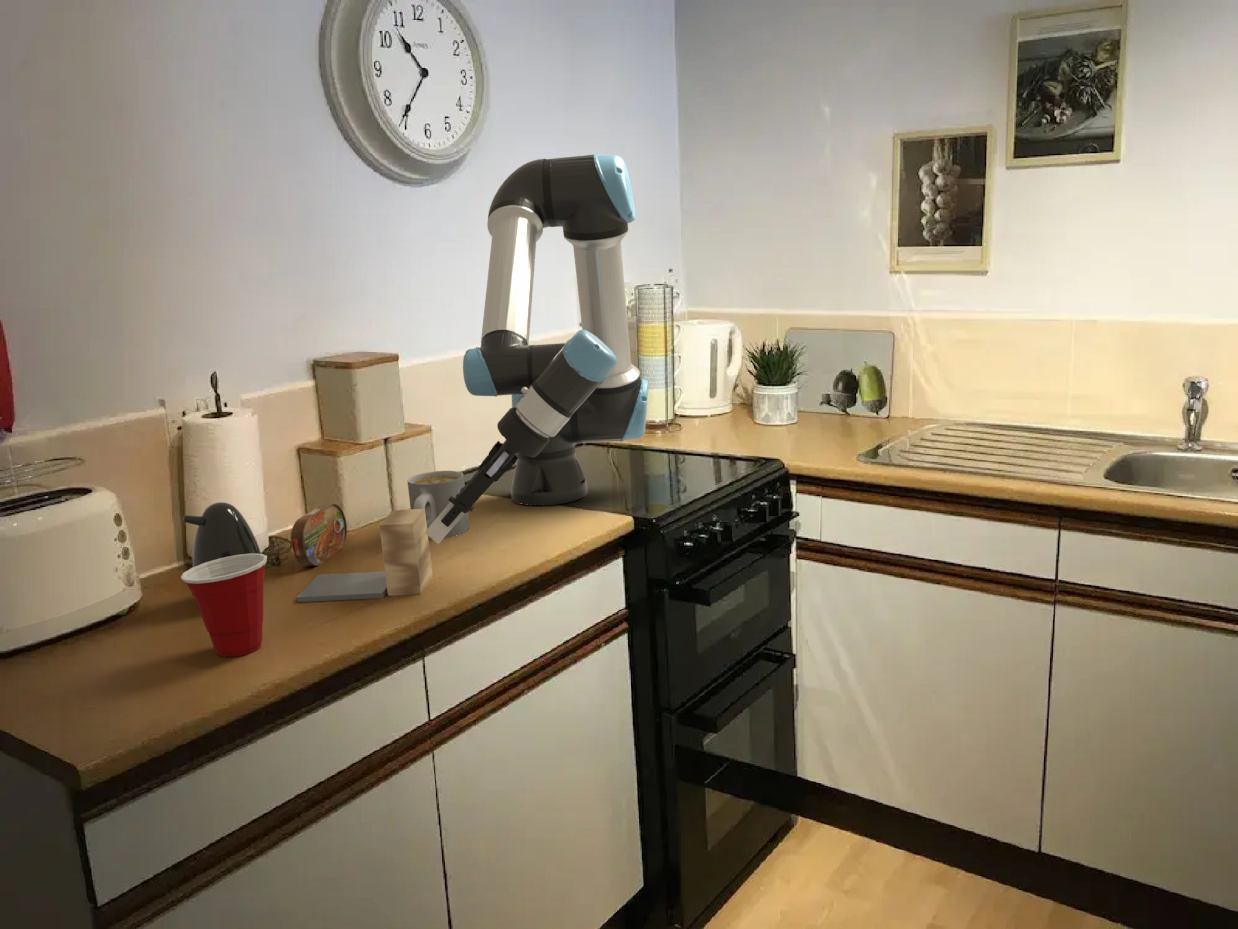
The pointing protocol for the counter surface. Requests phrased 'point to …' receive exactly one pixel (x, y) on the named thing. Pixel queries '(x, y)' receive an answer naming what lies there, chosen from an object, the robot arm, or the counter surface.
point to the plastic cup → (230, 601)
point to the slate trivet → (345, 587)
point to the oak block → (406, 552)
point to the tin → (319, 535)
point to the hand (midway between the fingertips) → (432, 536)
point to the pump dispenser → (221, 534)
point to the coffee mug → (437, 496)
